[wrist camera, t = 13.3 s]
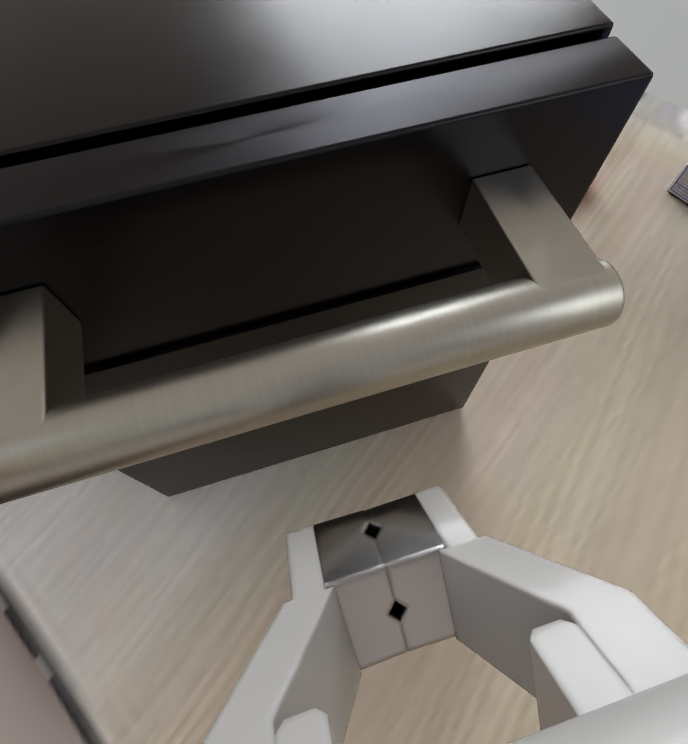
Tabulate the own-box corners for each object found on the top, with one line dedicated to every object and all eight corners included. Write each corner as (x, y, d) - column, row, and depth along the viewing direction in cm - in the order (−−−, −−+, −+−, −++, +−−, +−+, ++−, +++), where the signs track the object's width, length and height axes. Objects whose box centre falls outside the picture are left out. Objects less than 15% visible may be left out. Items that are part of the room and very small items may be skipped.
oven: (451, 382, 29) (616, 22, 11) (164, 467, 27) (-236, 202, 9) (369, 203, 35) (386, -202, 17) (136, 260, 33) (-119, -130, 15)
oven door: (494, 474, 26) (799, 211, 8) (178, 577, 24) (-335, 526, 6) (452, 384, 28) (616, 33, 11) (164, 470, 26) (-229, 214, 9)
